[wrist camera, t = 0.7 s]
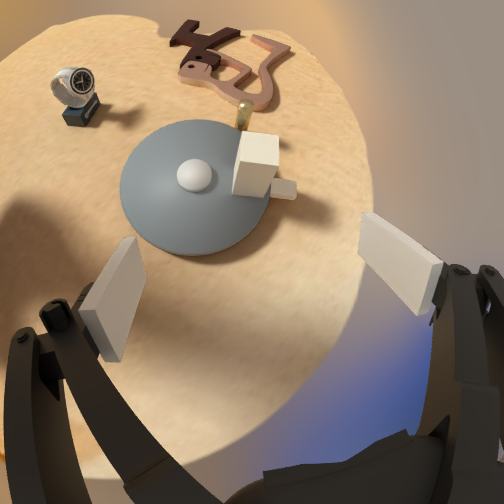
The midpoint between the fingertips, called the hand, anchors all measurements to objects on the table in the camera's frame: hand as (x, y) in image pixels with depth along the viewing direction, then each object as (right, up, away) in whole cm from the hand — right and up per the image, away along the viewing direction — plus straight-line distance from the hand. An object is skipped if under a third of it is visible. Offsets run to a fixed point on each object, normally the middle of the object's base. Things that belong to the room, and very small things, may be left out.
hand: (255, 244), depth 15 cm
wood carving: (-7, +38, +29) cm, 48 cm away
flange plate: (-6, +9, +20) cm, 22 cm away
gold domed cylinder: (-2, +18, +24) cm, 30 cm away
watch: (-30, +24, +21) cm, 43 cm away
